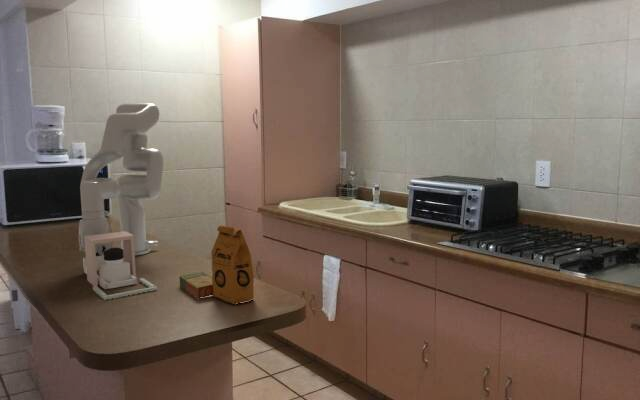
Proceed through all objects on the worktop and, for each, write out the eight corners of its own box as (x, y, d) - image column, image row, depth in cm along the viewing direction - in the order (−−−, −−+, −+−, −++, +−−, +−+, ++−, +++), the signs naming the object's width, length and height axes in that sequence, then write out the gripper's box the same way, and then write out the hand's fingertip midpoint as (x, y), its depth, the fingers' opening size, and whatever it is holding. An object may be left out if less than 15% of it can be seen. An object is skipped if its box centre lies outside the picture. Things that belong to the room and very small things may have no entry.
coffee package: (230, 308, 161) (227, 232, 157) (208, 298, 170) (206, 226, 167) (259, 301, 167) (257, 228, 164) (237, 291, 176) (235, 222, 173)
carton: (197, 301, 169) (196, 287, 168) (179, 287, 182) (178, 275, 181) (223, 295, 173) (222, 282, 173) (203, 283, 187) (202, 270, 186)
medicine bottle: (131, 283, 187) (129, 247, 185) (112, 288, 181) (110, 252, 179) (117, 279, 191) (115, 245, 189) (99, 285, 185) (96, 249, 183)
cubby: (127, 273, 198) (125, 231, 195) (136, 279, 190) (133, 235, 188) (87, 280, 190) (84, 236, 188) (94, 286, 183) (91, 240, 180)
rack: (113, 267, 206) (112, 253, 205) (136, 283, 185) (136, 268, 184) (83, 271, 200) (82, 258, 199) (104, 289, 179) (103, 274, 178)
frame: (143, 280, 189) (143, 277, 189) (157, 290, 178) (157, 287, 178) (92, 289, 179) (92, 286, 179) (104, 300, 169) (104, 296, 169)
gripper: (112, 211, 208) (115, 260, 211) (68, 216, 200) (72, 266, 202) (117, 214, 202) (120, 264, 205) (73, 219, 194) (77, 271, 196)
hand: (96, 265), depth 204 cm, fingers closed
